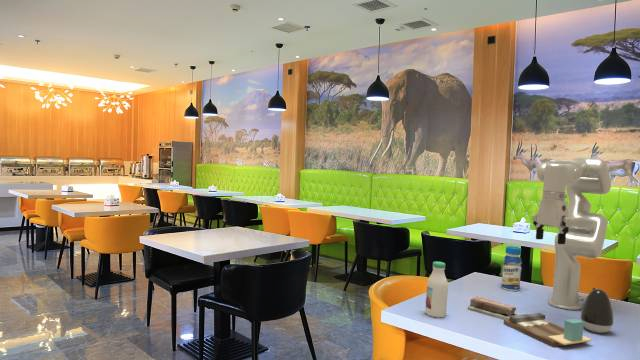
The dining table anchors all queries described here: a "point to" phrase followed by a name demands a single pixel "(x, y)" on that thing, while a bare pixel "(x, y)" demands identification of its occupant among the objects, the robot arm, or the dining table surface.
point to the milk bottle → (437, 292)
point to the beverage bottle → (511, 269)
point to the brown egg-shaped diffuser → (597, 312)
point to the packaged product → (492, 308)
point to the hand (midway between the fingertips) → (550, 241)
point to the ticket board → (536, 327)
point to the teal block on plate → (571, 333)
